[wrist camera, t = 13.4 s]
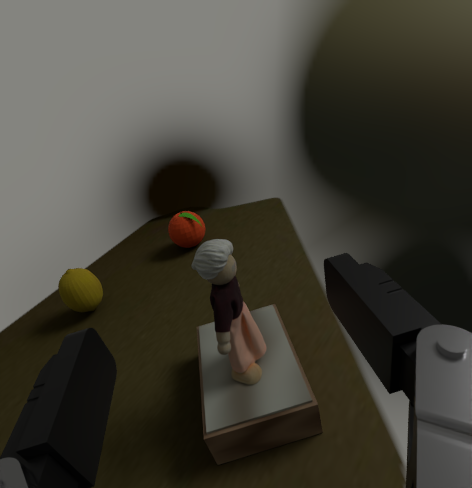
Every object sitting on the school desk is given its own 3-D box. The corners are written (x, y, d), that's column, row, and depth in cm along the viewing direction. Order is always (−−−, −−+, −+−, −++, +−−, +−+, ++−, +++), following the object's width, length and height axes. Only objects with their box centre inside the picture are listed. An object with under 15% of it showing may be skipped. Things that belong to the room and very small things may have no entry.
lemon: (110, 313, 46) (85, 271, 42) (73, 328, 45) (44, 286, 41) (111, 293, 50) (89, 254, 47) (78, 306, 50) (52, 267, 46)
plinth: (217, 465, 24) (202, 437, 22) (206, 351, 35) (196, 325, 33) (322, 432, 25) (317, 402, 23) (280, 329, 35) (274, 302, 33)
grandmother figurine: (276, 390, 24) (242, 263, 18) (230, 401, 24) (181, 278, 18) (260, 323, 31) (231, 213, 25) (224, 332, 31) (187, 225, 25)
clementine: (220, 238, 58) (210, 205, 55) (197, 258, 54) (185, 223, 50) (191, 234, 63) (180, 203, 60) (168, 251, 59) (155, 219, 55)
